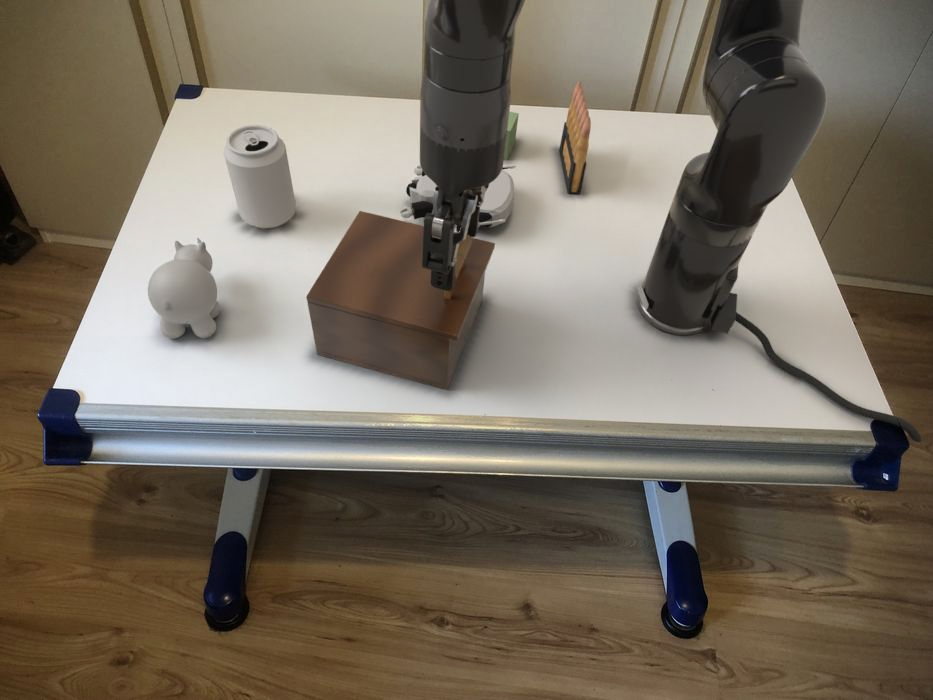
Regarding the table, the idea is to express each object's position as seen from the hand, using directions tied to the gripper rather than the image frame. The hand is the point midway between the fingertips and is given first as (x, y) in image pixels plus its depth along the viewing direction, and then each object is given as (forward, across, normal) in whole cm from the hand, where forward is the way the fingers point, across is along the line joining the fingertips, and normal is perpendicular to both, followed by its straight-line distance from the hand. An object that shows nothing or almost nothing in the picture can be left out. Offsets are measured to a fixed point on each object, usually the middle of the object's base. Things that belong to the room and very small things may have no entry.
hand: (455, 259), depth 71 cm
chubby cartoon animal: (+13, -5, +30) cm, 33 cm away
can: (+13, +13, +30) cm, 35 cm away
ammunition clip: (+13, +37, -7) cm, 40 cm away
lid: (+4, 0, +5) cm, 7 cm away
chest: (+13, 0, +6) cm, 14 cm away
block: (+13, +39, +5) cm, 41 cm away
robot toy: (+13, +23, +6) cm, 27 cm away
